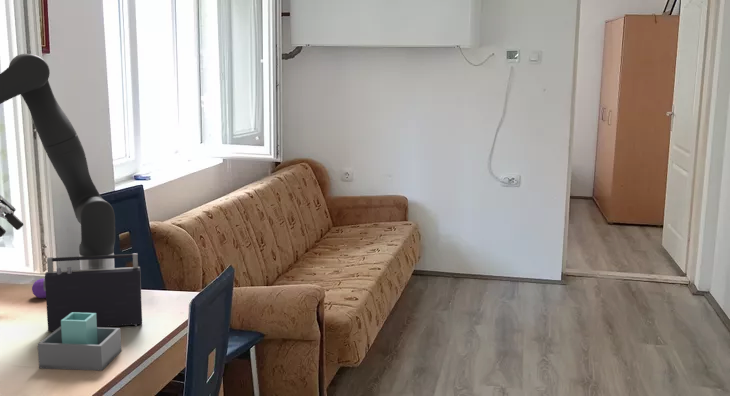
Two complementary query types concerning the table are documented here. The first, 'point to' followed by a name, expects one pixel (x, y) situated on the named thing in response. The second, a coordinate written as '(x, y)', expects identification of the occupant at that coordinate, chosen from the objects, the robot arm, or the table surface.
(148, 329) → the table surface
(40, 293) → the kendama
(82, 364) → the big crate
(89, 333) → the box
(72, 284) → the radio
